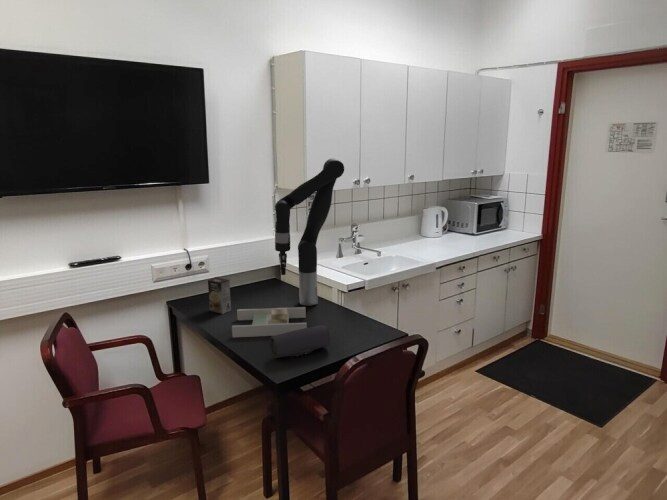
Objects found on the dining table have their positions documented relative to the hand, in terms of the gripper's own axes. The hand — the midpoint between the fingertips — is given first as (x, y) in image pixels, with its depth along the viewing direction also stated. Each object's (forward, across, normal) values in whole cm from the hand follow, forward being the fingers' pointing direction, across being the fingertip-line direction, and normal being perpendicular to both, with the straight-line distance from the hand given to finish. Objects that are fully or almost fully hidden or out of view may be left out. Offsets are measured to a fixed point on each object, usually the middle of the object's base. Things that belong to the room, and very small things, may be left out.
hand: (282, 272), depth 234 cm
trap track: (+18, -26, +7) cm, 33 cm away
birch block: (+14, -27, +3) cm, 31 cm away
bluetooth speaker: (+18, -55, -4) cm, 58 cm away
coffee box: (+19, -2, +31) cm, 36 cm away
